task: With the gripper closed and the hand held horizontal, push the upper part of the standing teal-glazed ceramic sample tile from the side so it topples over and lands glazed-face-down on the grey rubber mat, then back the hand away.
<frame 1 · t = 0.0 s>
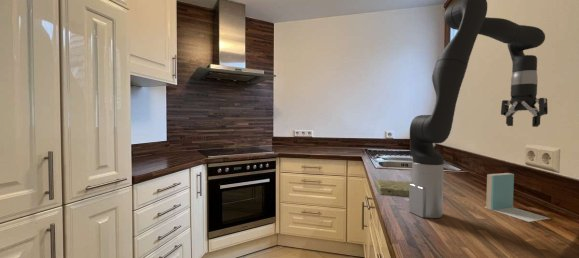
hand: (522, 126, 101), 29 cm above the worktop, tool pointing down, fingers open, 8 cm apart
mat: (515, 213, 89), on the worktop
sample tile: (499, 207, 94), resting on mat
decorative tile: (400, 192, 117), on the worktop
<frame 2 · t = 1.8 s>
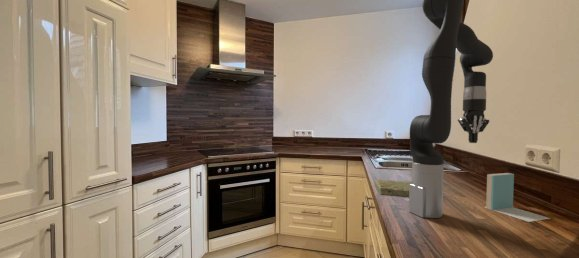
hand: (473, 142, 104), 23 cm above the worktop, tool pointing down, fingers closed
nothing on the worktop moved.
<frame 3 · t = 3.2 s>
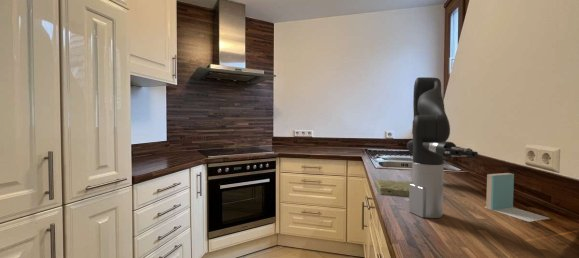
hand: (476, 154, 103), 18 cm above the worktop, tool horizontal, fingers closed
nothing on the worktop moved.
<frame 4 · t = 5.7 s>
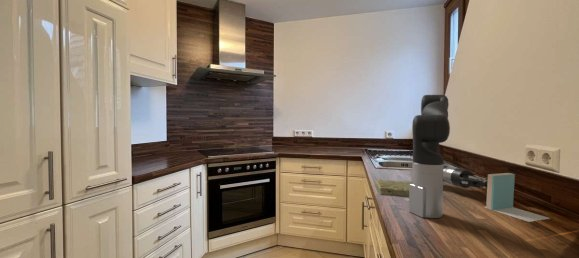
hand: (497, 187, 95), 8 cm above the worktop, tool horizontal, fingers closed
sample tile: (499, 207, 94), resting on mat, touching gripper
everything else where it was.
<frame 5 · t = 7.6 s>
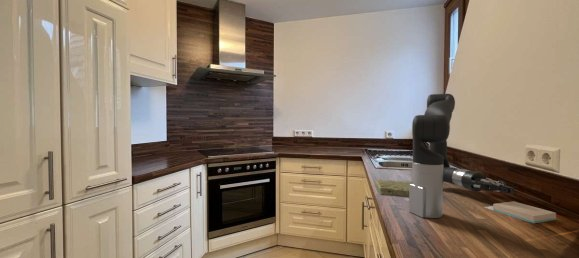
hand: (512, 191, 90), 8 cm above the worktop, tool horizontal, fingers closed
sample tile: (503, 205, 93), point 1 cm above the worktop, tilted 90°, touching mat
everything else where it was.
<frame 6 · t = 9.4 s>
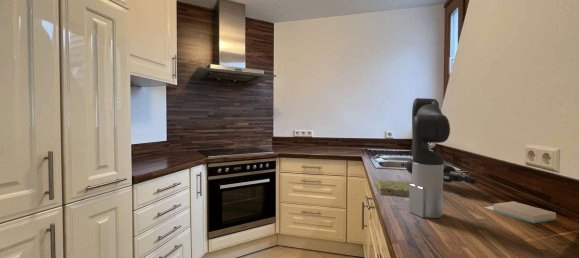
hand: (475, 181, 103), 8 cm above the worktop, tool horizontal, fingers closed
nothing on the worktop moved.
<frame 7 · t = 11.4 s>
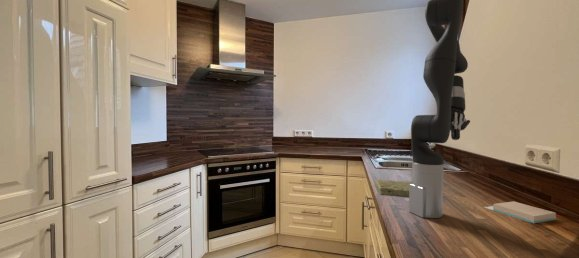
hand: (455, 139, 104), 24 cm above the worktop, tool tilted 25°, fingers closed
nothing on the worktop moved.
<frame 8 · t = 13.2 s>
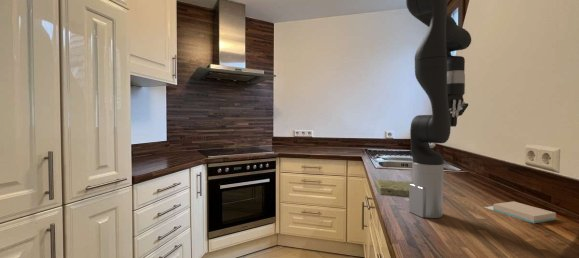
hand: (452, 126, 106), 29 cm above the worktop, tool pointing down, fingers closed
nothing on the worktop moved.
at the end: sample tile tilted 90°; sample tile inside the target area (1.2 cm from its centre), point 1.5 cm above the worktop; the gripper is holding nothing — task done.
